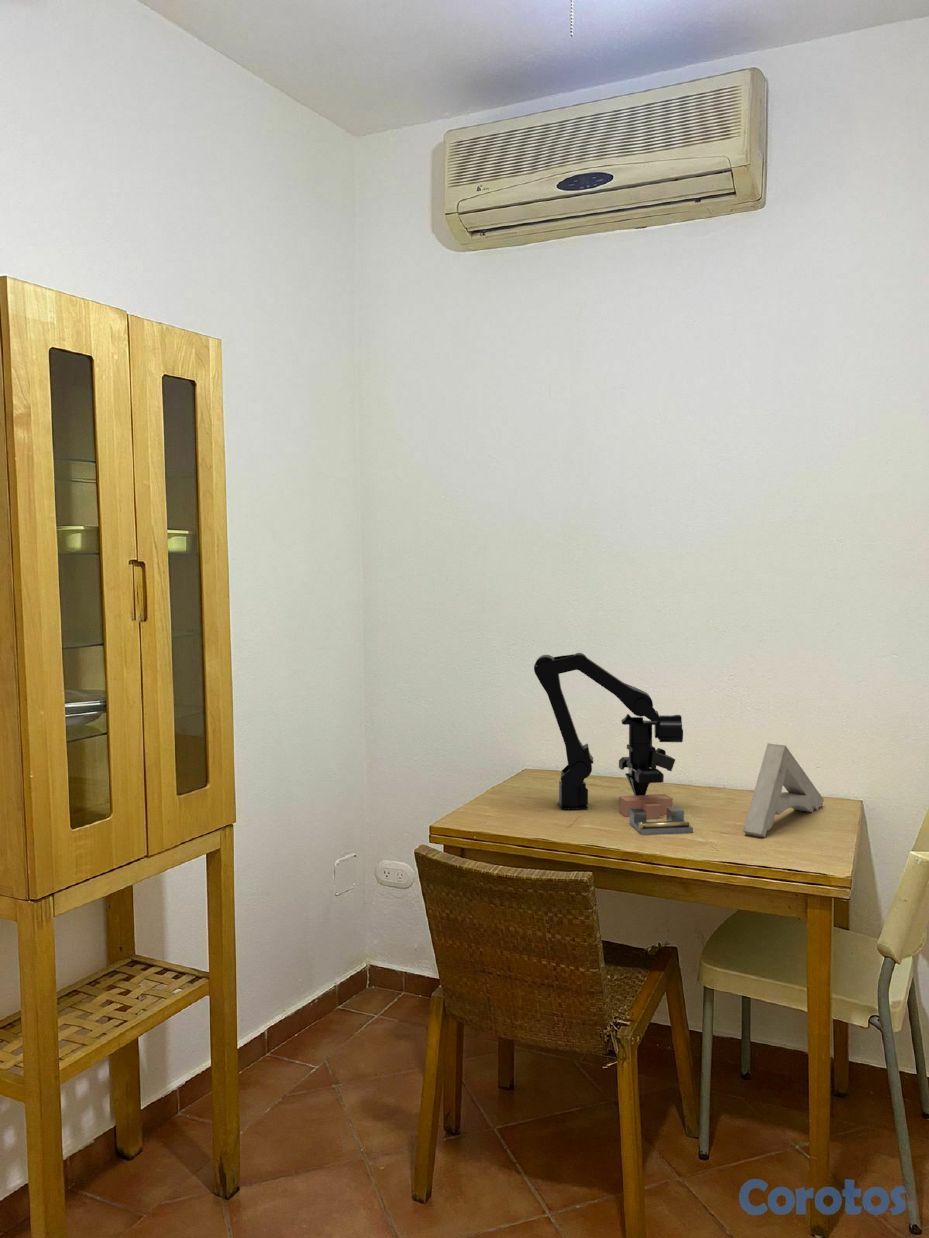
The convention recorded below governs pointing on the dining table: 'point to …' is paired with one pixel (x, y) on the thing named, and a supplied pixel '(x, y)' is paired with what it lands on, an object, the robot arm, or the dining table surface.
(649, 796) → the pink tabbed slab
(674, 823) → the hinge pin
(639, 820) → the fixed leaf
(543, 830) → the dining table surface
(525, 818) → the dining table surface
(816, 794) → the grey letter a
